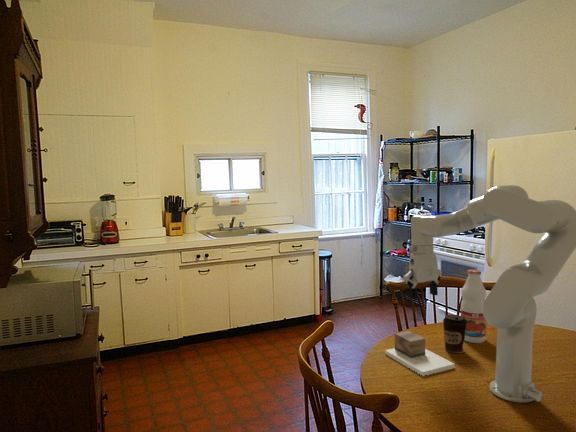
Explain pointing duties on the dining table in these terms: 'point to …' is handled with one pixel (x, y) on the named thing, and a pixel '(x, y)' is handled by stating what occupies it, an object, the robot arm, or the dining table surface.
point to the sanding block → (410, 344)
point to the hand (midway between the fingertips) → (423, 296)
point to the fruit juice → (474, 307)
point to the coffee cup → (454, 333)
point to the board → (422, 362)
